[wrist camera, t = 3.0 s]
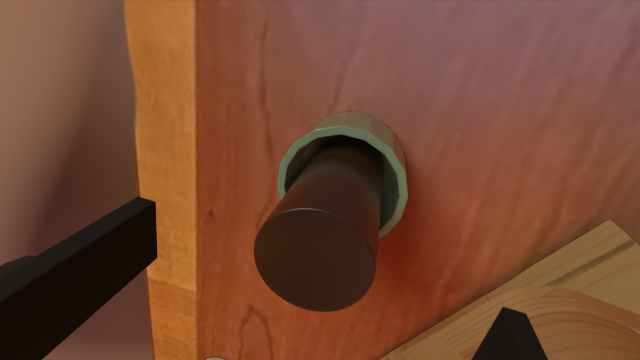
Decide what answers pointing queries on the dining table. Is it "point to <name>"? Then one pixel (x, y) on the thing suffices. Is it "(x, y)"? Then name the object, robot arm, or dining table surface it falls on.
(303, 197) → the dark brown cylinder
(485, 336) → the robot arm
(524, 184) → the dining table surface
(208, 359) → the candle
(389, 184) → the cup
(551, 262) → the skate ramp
